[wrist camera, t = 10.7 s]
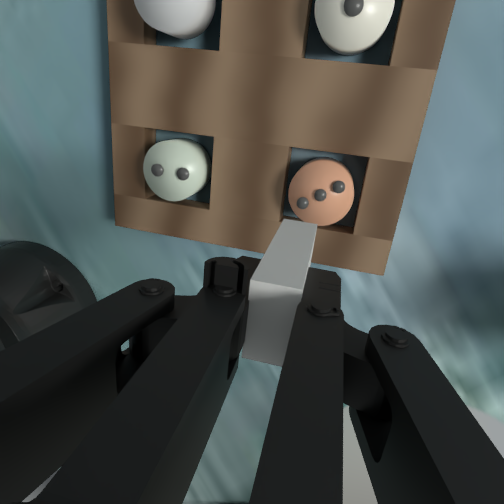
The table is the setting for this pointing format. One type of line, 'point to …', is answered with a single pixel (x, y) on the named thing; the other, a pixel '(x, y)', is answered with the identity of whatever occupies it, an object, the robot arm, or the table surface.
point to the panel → (270, 122)
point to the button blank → (177, 16)
